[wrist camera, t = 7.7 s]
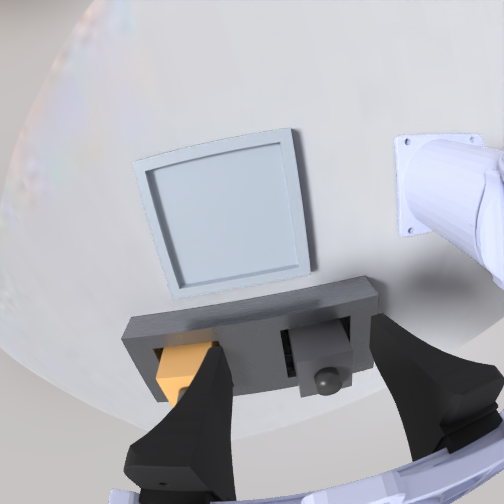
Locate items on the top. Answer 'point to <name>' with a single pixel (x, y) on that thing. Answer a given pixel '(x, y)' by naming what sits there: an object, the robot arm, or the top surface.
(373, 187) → the top surface
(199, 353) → the plug
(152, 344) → the strip
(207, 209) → the tray
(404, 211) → the robot arm
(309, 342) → the grey block with knob
